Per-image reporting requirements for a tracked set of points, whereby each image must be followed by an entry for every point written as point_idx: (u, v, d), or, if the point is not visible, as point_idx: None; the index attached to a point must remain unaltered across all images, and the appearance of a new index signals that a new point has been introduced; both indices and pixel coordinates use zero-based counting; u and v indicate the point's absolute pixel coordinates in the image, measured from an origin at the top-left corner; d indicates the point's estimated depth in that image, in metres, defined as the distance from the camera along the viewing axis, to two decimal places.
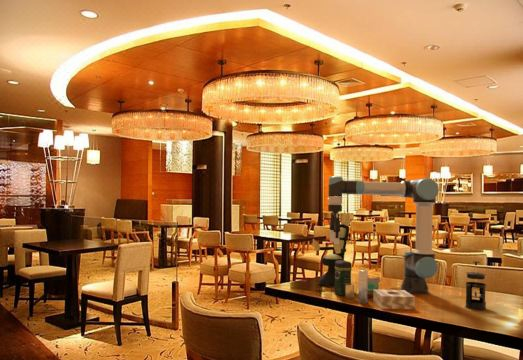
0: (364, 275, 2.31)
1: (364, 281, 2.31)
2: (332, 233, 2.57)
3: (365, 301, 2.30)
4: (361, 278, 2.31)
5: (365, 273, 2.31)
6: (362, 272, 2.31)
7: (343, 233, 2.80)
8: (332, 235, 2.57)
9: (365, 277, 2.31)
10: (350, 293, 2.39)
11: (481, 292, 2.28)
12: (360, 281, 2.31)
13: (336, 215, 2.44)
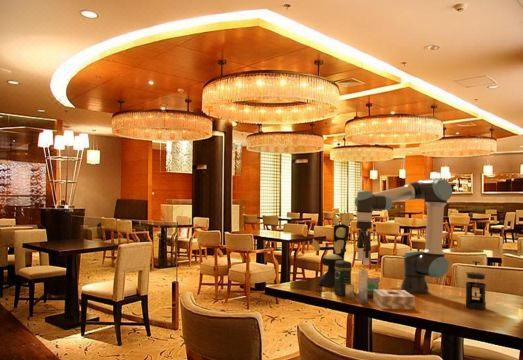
0: (364, 275, 2.31)
1: (364, 281, 2.31)
2: (360, 251, 2.40)
3: (365, 301, 2.30)
4: (361, 278, 2.31)
5: (365, 273, 2.31)
6: (362, 272, 2.31)
7: (343, 233, 2.80)
8: (360, 254, 2.39)
9: (365, 277, 2.31)
10: (350, 293, 2.39)
11: (481, 292, 2.28)
12: (360, 281, 2.31)
13: (366, 233, 2.27)
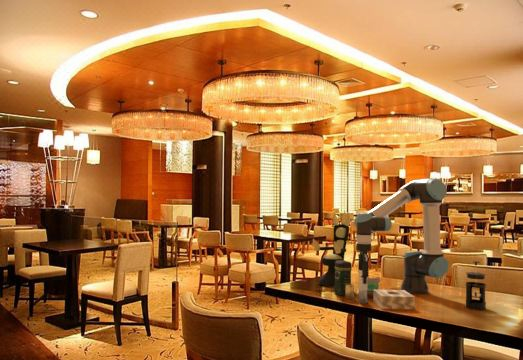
0: None
1: None
2: None
3: (365, 301, 2.30)
4: (361, 278, 2.31)
5: None
6: None
7: (343, 233, 2.80)
8: None
9: None
10: (350, 293, 2.39)
11: (481, 292, 2.28)
12: (360, 281, 2.31)
13: (365, 259, 2.27)
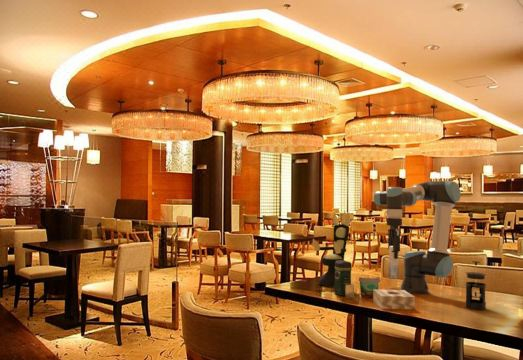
0: None
1: None
2: None
3: (396, 277, 2.26)
4: None
5: None
6: None
7: (343, 233, 2.80)
8: None
9: None
10: (350, 293, 2.39)
11: (481, 292, 2.28)
12: (391, 257, 2.27)
13: (397, 233, 2.22)
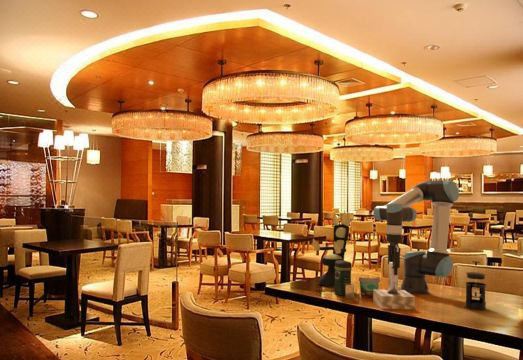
0: None
1: None
2: None
3: (396, 293, 2.26)
4: None
5: None
6: None
7: (343, 233, 2.80)
8: None
9: None
10: (350, 293, 2.39)
11: (481, 292, 2.28)
12: (390, 273, 2.27)
13: (397, 250, 2.22)
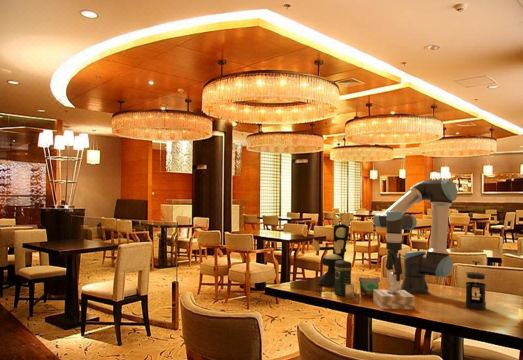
0: None
1: None
2: None
3: None
4: (392, 281, 2.26)
5: None
6: (392, 274, 2.26)
7: (343, 233, 2.80)
8: None
9: None
10: (350, 293, 2.39)
11: (481, 292, 2.28)
12: (390, 284, 2.26)
13: (397, 255, 2.21)
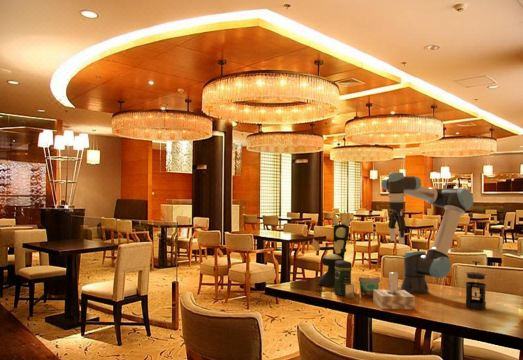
0: (395, 277, 2.26)
1: (395, 284, 2.26)
2: (392, 232, 2.46)
3: None
4: (392, 281, 2.26)
5: (395, 275, 2.26)
6: (392, 274, 2.26)
7: (343, 233, 2.80)
8: (392, 234, 2.46)
9: (396, 279, 2.26)
10: (350, 293, 2.39)
11: (481, 292, 2.28)
12: (390, 284, 2.26)
13: (400, 213, 2.33)
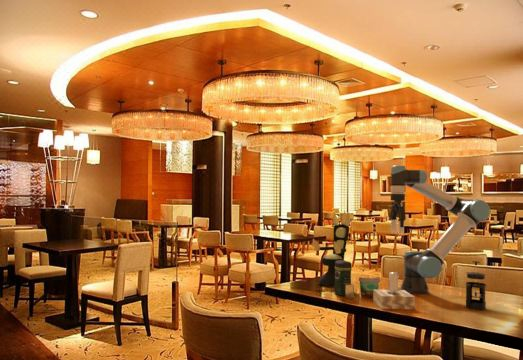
0: (395, 277, 2.26)
1: (395, 284, 2.26)
2: (393, 223, 2.56)
3: None
4: (392, 281, 2.26)
5: (395, 275, 2.26)
6: (392, 274, 2.26)
7: (343, 233, 2.80)
8: (393, 225, 2.56)
9: (396, 279, 2.26)
10: (350, 293, 2.39)
11: (481, 292, 2.28)
12: (390, 284, 2.26)
13: (401, 204, 2.43)
